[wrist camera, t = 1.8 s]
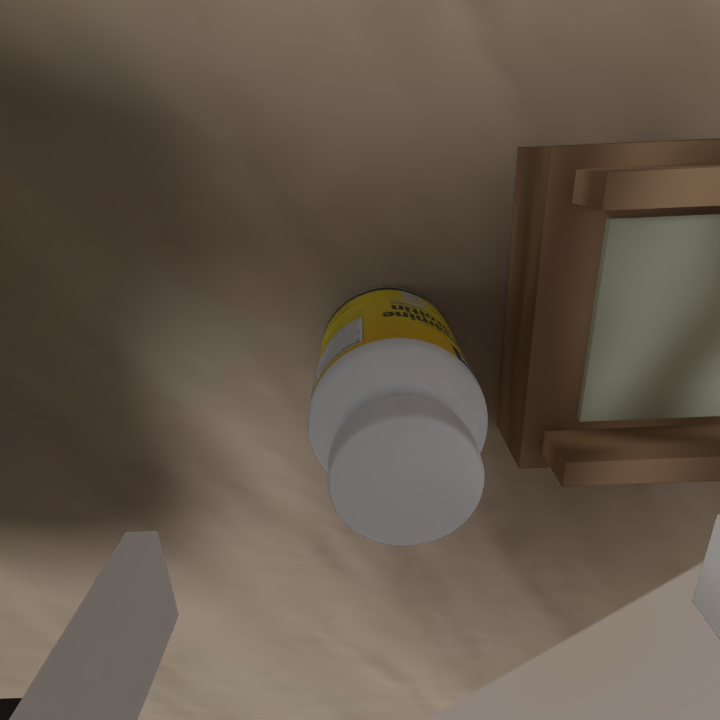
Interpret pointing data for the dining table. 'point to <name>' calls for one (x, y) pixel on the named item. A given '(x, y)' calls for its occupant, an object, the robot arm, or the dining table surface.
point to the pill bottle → (397, 419)
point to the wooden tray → (614, 313)
